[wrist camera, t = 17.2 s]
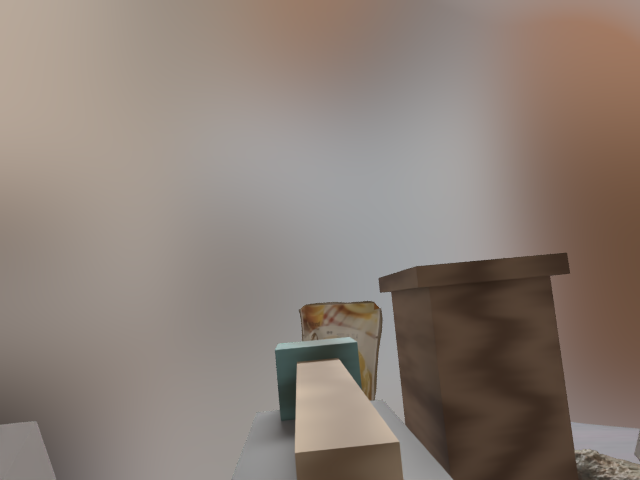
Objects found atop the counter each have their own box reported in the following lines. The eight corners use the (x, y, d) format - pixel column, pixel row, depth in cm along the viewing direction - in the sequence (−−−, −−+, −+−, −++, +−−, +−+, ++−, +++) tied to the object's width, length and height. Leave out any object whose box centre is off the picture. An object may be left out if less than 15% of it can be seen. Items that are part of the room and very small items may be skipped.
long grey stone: (780, 549, 56) (792, 520, 63) (775, 495, 57) (787, 473, 64) (477, 474, 81) (509, 460, 88) (475, 438, 82) (507, 426, 89)
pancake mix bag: (334, 487, 82) (317, 303, 86) (409, 528, 66) (385, 296, 69) (294, 498, 79) (278, 306, 82) (362, 544, 63) (339, 301, 66)
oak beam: (252, 610, 15) (238, 422, 15) (283, 405, 45) (278, 343, 45) (468, 584, 15) (447, 400, 16) (355, 397, 45) (349, 336, 45)
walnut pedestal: (467, 728, 35) (416, 266, 38) (410, 584, 53) (378, 278, 56) (632, 706, 36) (566, 252, 39) (520, 571, 53) (482, 268, 57)
